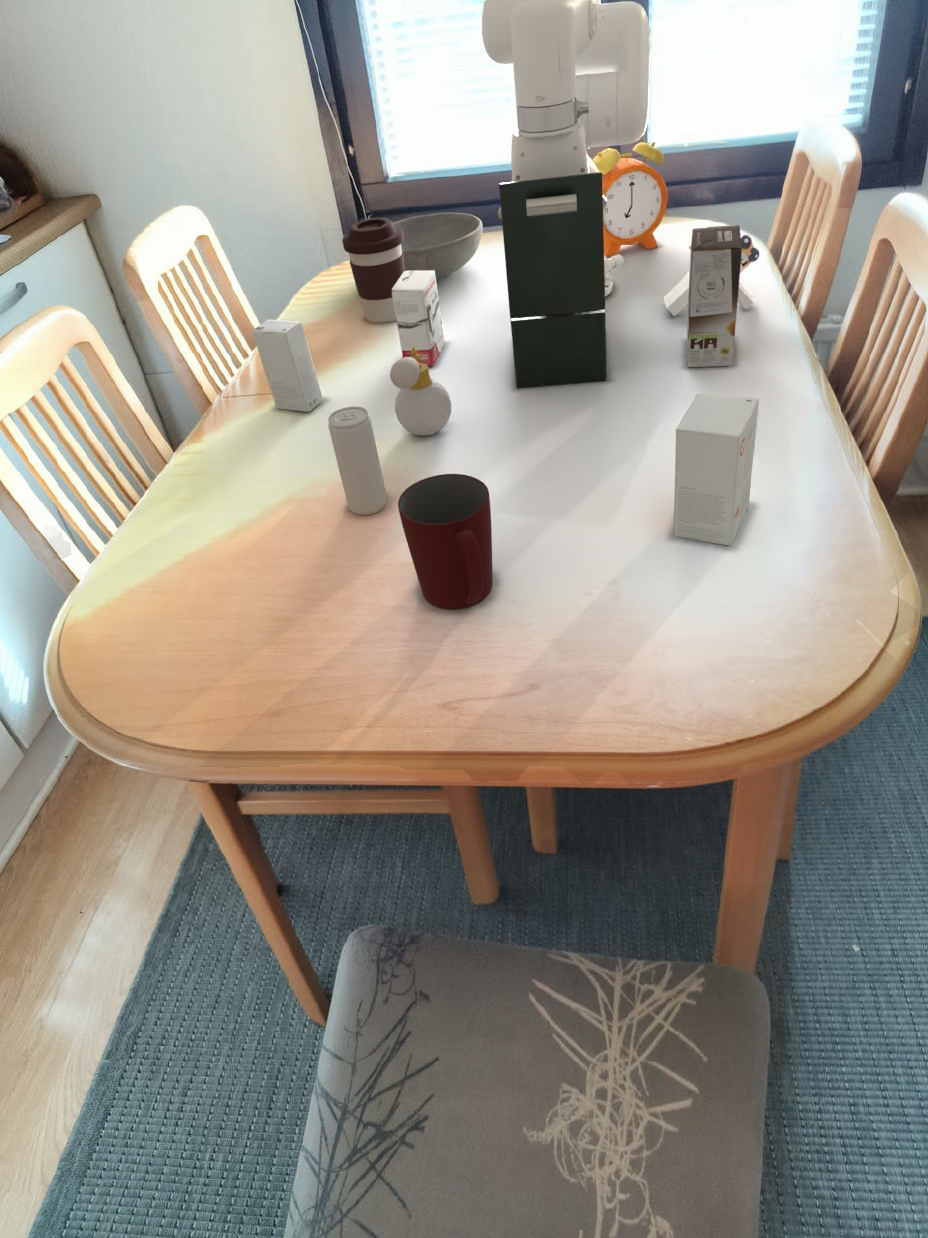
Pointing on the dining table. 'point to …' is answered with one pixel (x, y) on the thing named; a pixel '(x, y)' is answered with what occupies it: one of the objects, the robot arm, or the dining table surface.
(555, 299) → the dark green block
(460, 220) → the bowl
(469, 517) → the mug
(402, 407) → the perfume bottle
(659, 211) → the alarm clock
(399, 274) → the coffee cup
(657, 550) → the dining table surface
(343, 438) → the beverage can
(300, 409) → the cosmetic box
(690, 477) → the small box
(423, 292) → the ink box
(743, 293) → the figurine
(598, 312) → the bin
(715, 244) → the coffee box
